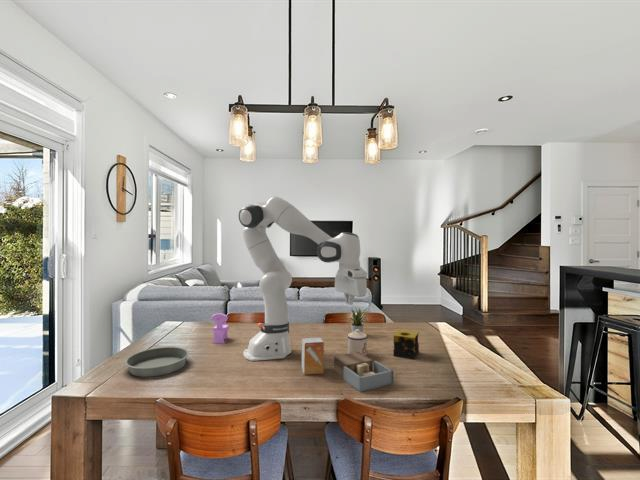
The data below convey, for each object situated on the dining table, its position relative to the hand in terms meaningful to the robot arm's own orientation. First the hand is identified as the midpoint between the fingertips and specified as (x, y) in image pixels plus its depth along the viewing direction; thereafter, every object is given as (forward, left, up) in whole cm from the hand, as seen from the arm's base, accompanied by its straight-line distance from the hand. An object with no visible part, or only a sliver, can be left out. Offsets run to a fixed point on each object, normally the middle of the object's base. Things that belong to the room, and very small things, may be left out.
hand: (349, 304), depth 143 cm
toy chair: (-42, +61, -27) cm, 79 cm away
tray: (0, -14, -27) cm, 31 cm away
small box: (-15, +4, -27) cm, 31 cm away
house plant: (+29, +37, -27) cm, 54 cm away
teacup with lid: (+13, +14, -27) cm, 33 cm away
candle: (+33, +3, -27) cm, 43 cm away
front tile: (0, -15, -24) cm, 29 cm away
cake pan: (-72, +37, -28) cm, 86 cm away
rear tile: (0, -9, -24) cm, 26 cm away
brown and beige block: (0, -3, -27) cm, 27 cm away
